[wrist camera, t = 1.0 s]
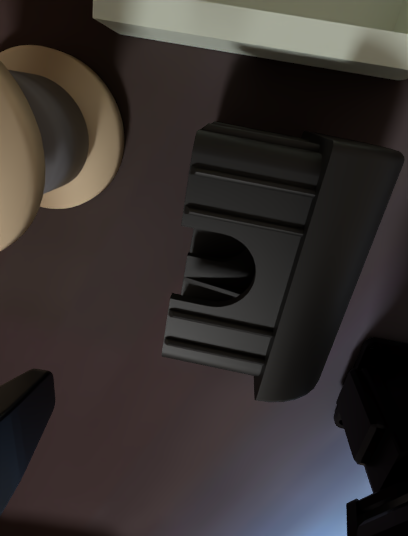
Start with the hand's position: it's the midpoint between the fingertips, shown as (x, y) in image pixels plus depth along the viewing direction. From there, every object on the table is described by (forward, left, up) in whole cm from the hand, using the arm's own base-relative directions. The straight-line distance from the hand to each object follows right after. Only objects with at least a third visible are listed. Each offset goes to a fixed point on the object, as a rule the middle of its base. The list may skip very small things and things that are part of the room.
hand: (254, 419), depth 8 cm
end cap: (-1, -1, -12) cm, 12 cm away
